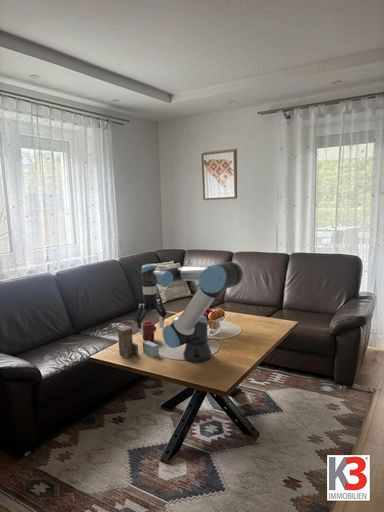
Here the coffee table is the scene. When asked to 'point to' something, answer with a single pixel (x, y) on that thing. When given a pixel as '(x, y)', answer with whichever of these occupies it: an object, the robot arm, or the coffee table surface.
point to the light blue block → (150, 348)
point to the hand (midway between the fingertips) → (151, 331)
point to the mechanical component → (148, 330)
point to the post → (126, 342)
